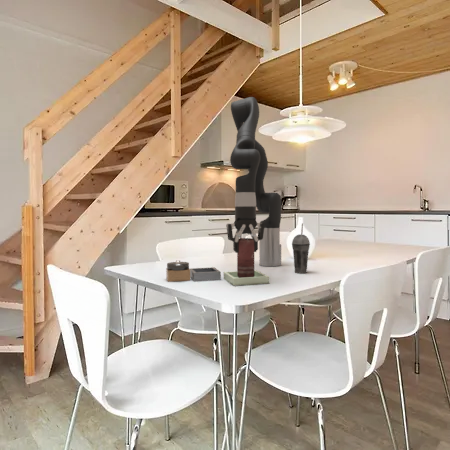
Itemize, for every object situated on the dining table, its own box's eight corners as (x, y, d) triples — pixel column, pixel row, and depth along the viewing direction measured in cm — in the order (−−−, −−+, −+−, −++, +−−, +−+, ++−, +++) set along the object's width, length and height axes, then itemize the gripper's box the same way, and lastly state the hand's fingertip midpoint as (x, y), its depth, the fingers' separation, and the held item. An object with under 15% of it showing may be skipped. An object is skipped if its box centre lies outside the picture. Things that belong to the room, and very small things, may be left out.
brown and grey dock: (214, 274, 141) (214, 257, 141) (220, 279, 132) (220, 260, 131) (165, 277, 136) (165, 259, 136) (168, 282, 127) (168, 263, 126)
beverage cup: (288, 272, 146) (288, 223, 145) (297, 270, 151) (297, 222, 150) (303, 274, 141) (304, 224, 140) (313, 272, 146) (313, 223, 145)
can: (244, 274, 133) (244, 237, 133) (257, 277, 129) (257, 238, 128) (233, 277, 129) (233, 238, 128) (246, 279, 125) (246, 239, 124)
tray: (256, 276, 137) (256, 270, 137) (269, 283, 124) (269, 276, 124) (223, 278, 134) (223, 272, 133) (233, 286, 121) (233, 278, 121)
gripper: (260, 205, 133) (260, 250, 134) (223, 205, 129) (223, 251, 130) (268, 205, 126) (268, 252, 127) (229, 205, 122) (229, 254, 123)
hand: (245, 251), depth 129 cm, fingers closed on can, 6 cm apart
